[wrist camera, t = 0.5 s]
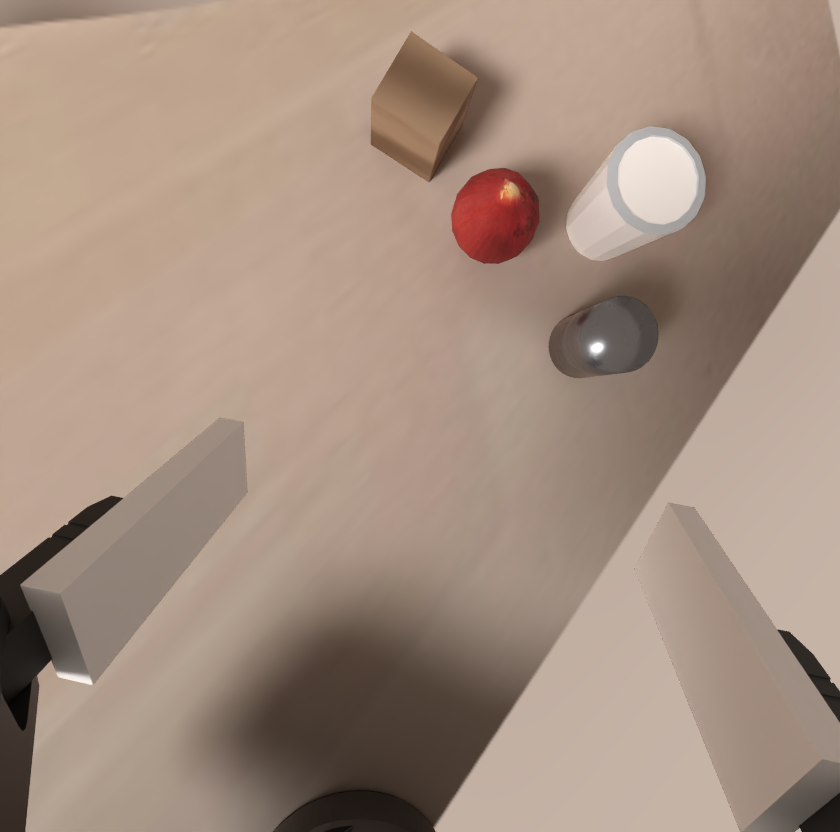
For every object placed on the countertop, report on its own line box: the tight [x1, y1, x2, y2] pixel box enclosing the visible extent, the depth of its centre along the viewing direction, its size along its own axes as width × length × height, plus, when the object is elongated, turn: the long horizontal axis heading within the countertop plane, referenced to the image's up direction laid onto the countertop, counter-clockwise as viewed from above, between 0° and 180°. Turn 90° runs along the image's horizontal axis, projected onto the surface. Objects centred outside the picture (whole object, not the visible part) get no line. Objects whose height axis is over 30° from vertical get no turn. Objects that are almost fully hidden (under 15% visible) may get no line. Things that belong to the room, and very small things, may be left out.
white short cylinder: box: [566, 126, 706, 261], centre depth 31 cm, size 7×7×7 cm
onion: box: [452, 168, 539, 264], centre depth 29 cm, size 6×6×8 cm
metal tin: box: [549, 296, 658, 378], centre depth 32 cm, size 5×5×6 cm
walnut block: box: [371, 31, 478, 182], centre depth 30 cm, size 5×5×5 cm
